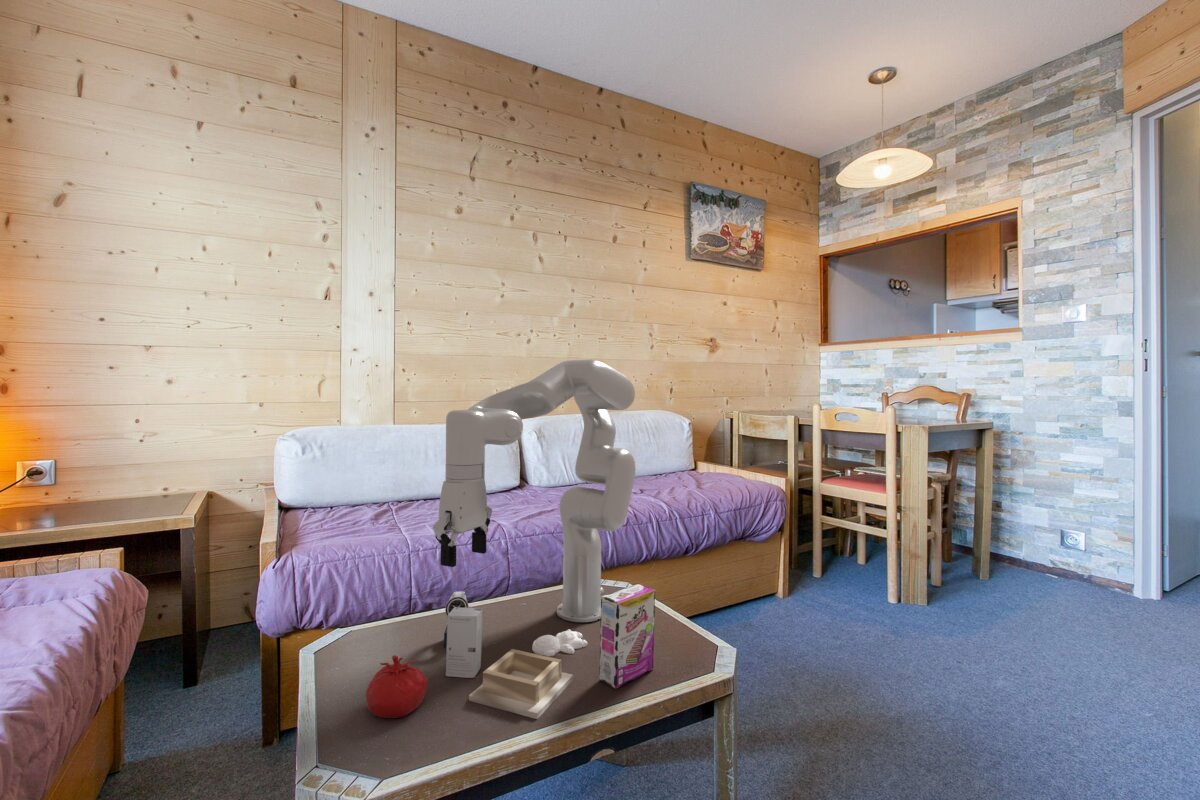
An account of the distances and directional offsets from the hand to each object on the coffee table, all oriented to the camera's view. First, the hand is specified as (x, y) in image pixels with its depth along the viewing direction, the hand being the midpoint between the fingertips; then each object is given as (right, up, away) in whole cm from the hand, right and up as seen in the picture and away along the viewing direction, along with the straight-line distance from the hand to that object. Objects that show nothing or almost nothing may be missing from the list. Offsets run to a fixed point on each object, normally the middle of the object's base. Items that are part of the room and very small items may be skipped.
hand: (464, 558), depth 109 cm
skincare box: (0, -23, 0) cm, 23 cm away
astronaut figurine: (+18, -23, +12) cm, 32 cm away
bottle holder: (+12, -23, -6) cm, 27 cm away
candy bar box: (+32, -23, 0) cm, 40 cm away
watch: (-4, -23, +13) cm, 26 cm away
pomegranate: (-9, -23, -12) cm, 27 cm away
